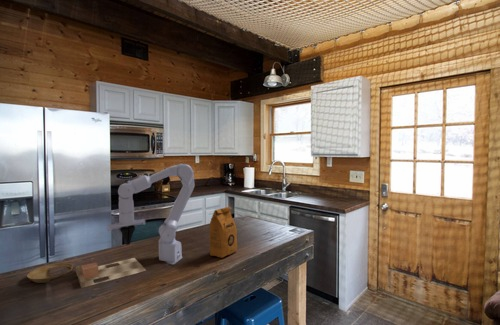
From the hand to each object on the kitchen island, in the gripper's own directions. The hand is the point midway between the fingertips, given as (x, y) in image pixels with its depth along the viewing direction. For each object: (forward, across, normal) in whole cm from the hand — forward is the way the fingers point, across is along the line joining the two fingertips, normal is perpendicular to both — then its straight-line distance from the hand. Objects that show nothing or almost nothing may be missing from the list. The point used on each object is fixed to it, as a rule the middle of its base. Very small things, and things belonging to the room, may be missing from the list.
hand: (127, 243), depth 115 cm
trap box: (+10, +7, +3) cm, 12 cm away
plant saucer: (+10, +26, -10) cm, 30 cm away
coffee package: (+10, -39, +14) cm, 43 cm away
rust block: (+8, +15, +3) cm, 17 cm away
